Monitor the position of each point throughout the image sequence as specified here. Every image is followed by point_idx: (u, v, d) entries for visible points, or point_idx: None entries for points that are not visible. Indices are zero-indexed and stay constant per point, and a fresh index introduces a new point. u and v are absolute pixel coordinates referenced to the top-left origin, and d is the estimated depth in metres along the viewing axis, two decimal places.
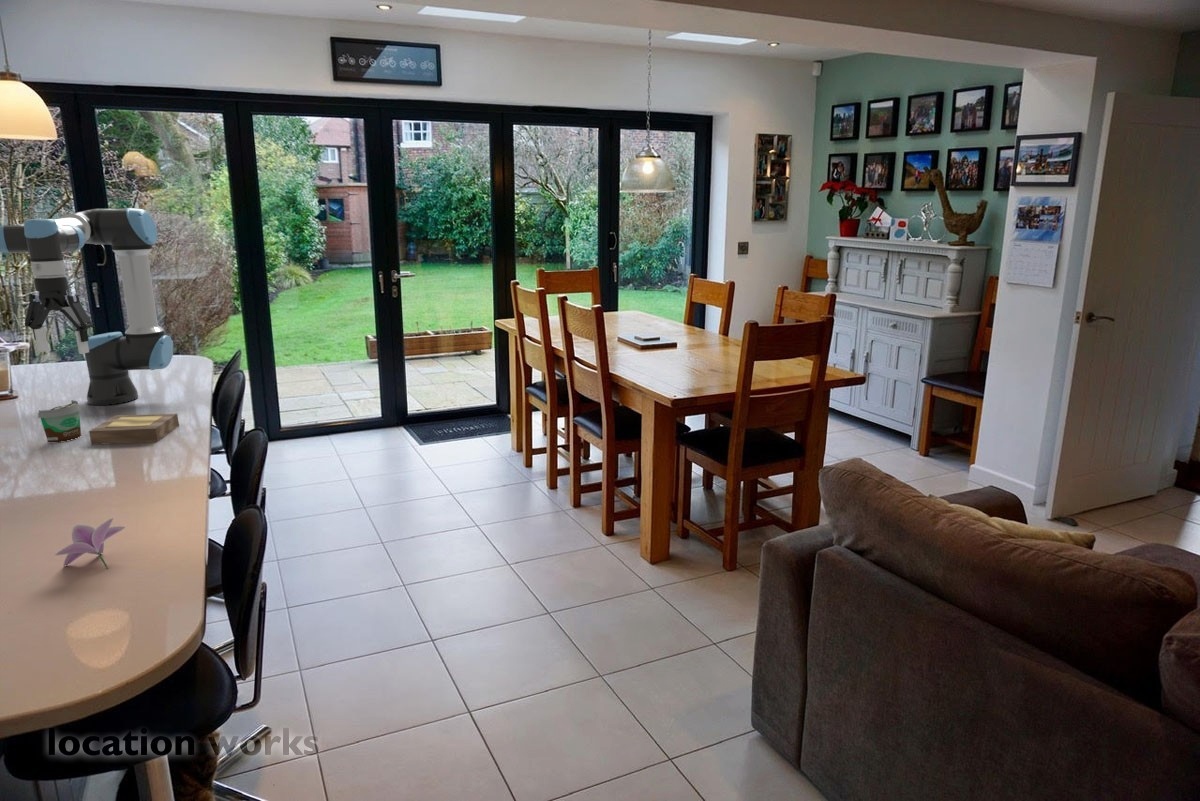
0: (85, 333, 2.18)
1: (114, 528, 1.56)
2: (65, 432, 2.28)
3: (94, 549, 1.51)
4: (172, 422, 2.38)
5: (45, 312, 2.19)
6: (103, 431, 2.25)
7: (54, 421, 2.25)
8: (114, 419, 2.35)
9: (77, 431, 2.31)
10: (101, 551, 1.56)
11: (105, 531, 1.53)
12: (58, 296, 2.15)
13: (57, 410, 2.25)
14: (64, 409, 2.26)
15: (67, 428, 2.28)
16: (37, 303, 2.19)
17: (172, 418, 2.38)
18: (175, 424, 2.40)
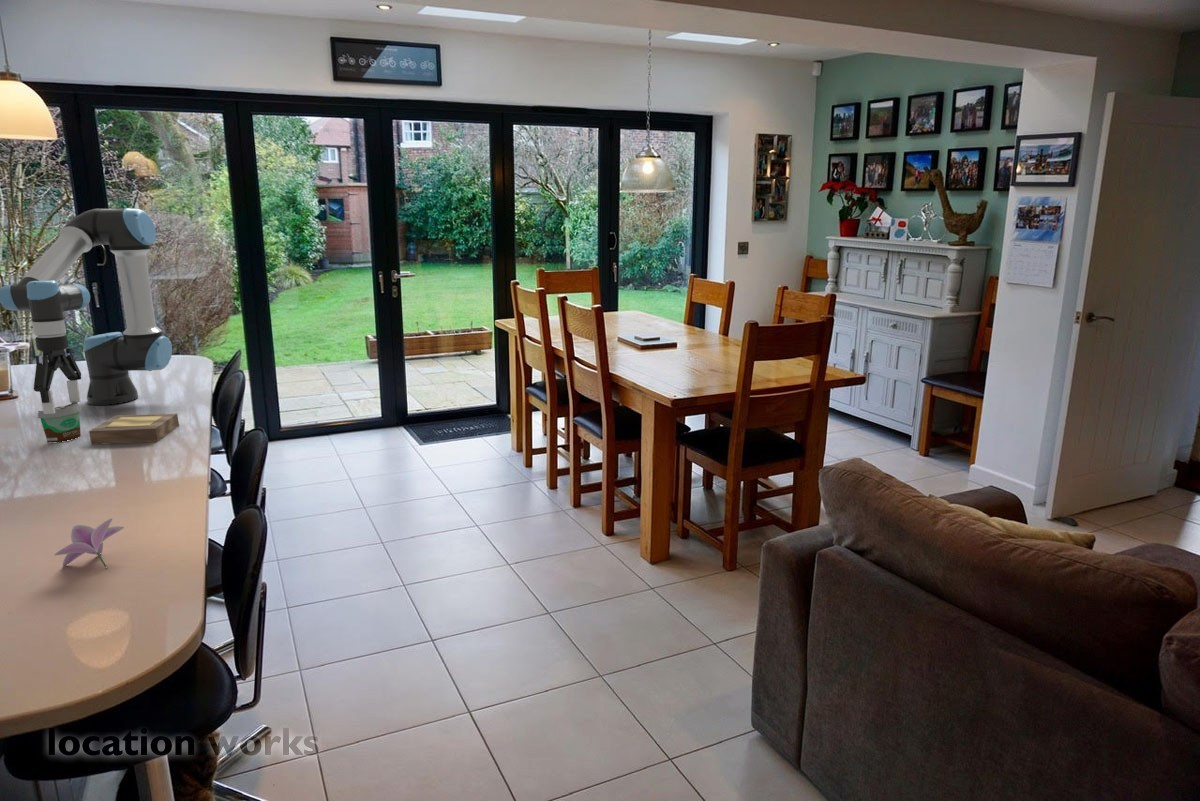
0: (43, 395, 2.18)
1: (113, 528, 1.56)
2: (65, 432, 2.27)
3: (93, 549, 1.51)
4: (172, 422, 2.38)
5: (62, 367, 2.29)
6: (103, 431, 2.25)
7: (54, 422, 2.25)
8: (114, 419, 2.35)
9: (77, 432, 2.31)
10: (100, 551, 1.56)
11: (104, 531, 1.53)
12: None
13: (57, 410, 2.25)
14: (64, 409, 2.26)
15: (66, 428, 2.28)
16: (66, 357, 2.30)
17: (172, 418, 2.38)
18: (175, 424, 2.40)
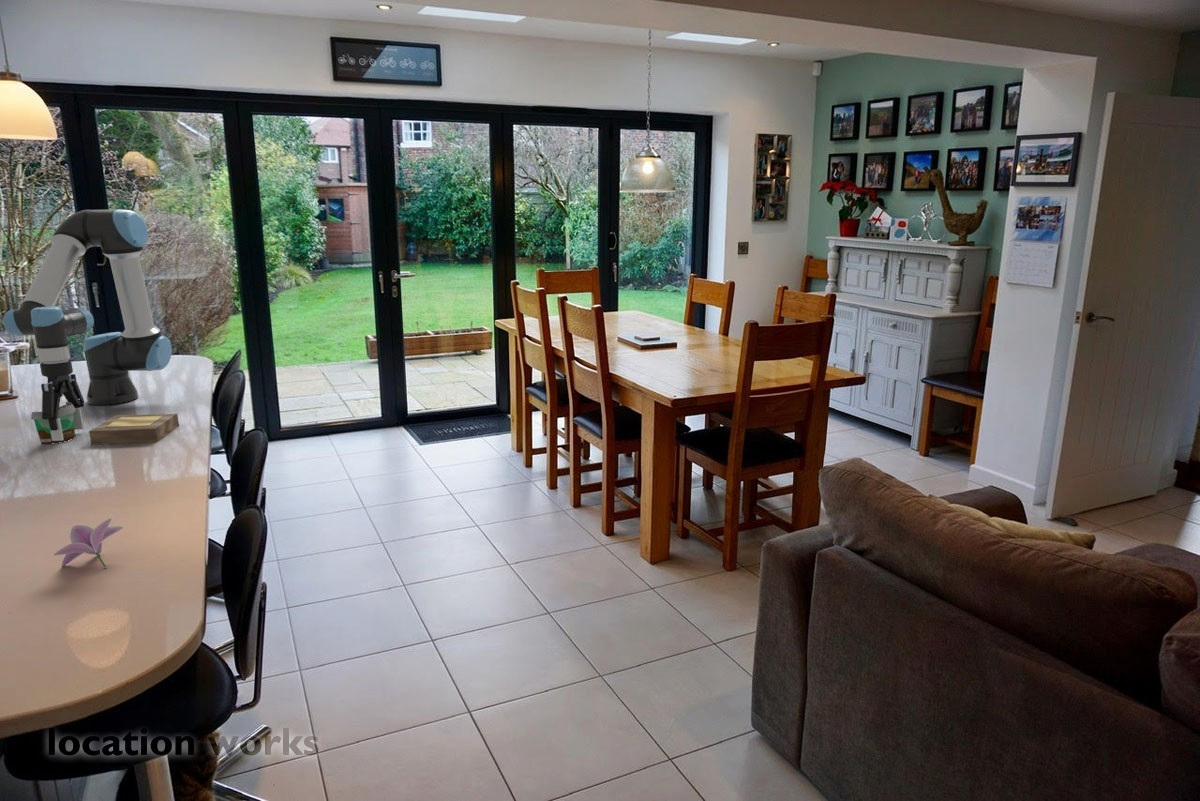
0: (51, 422, 2.22)
1: (112, 528, 1.56)
2: None
3: (92, 549, 1.51)
4: (172, 422, 2.38)
5: (66, 393, 2.30)
6: (103, 431, 2.25)
7: (47, 423, 2.24)
8: (114, 419, 2.35)
9: (71, 433, 2.29)
10: (99, 551, 1.56)
11: (103, 531, 1.53)
12: None
13: None
14: None
15: None
16: (71, 383, 2.32)
17: (172, 418, 2.38)
18: (175, 424, 2.40)
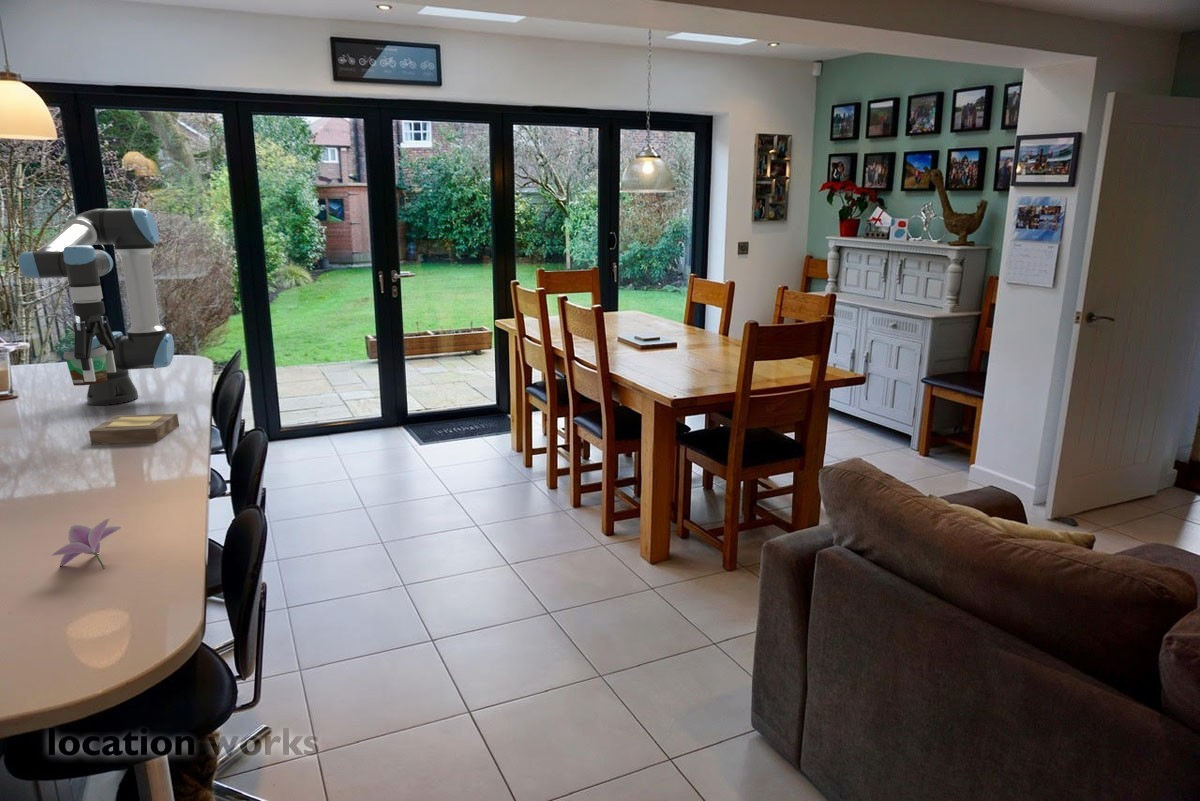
0: (84, 362, 2.19)
1: (110, 528, 1.56)
2: None
3: (91, 549, 1.51)
4: (172, 422, 2.38)
5: (98, 335, 2.28)
6: (103, 431, 2.25)
7: (79, 363, 2.21)
8: (114, 419, 2.35)
9: (103, 375, 2.27)
10: (97, 551, 1.56)
11: (101, 531, 1.53)
12: None
13: None
14: None
15: None
16: (103, 325, 2.30)
17: (172, 418, 2.38)
18: (175, 424, 2.40)
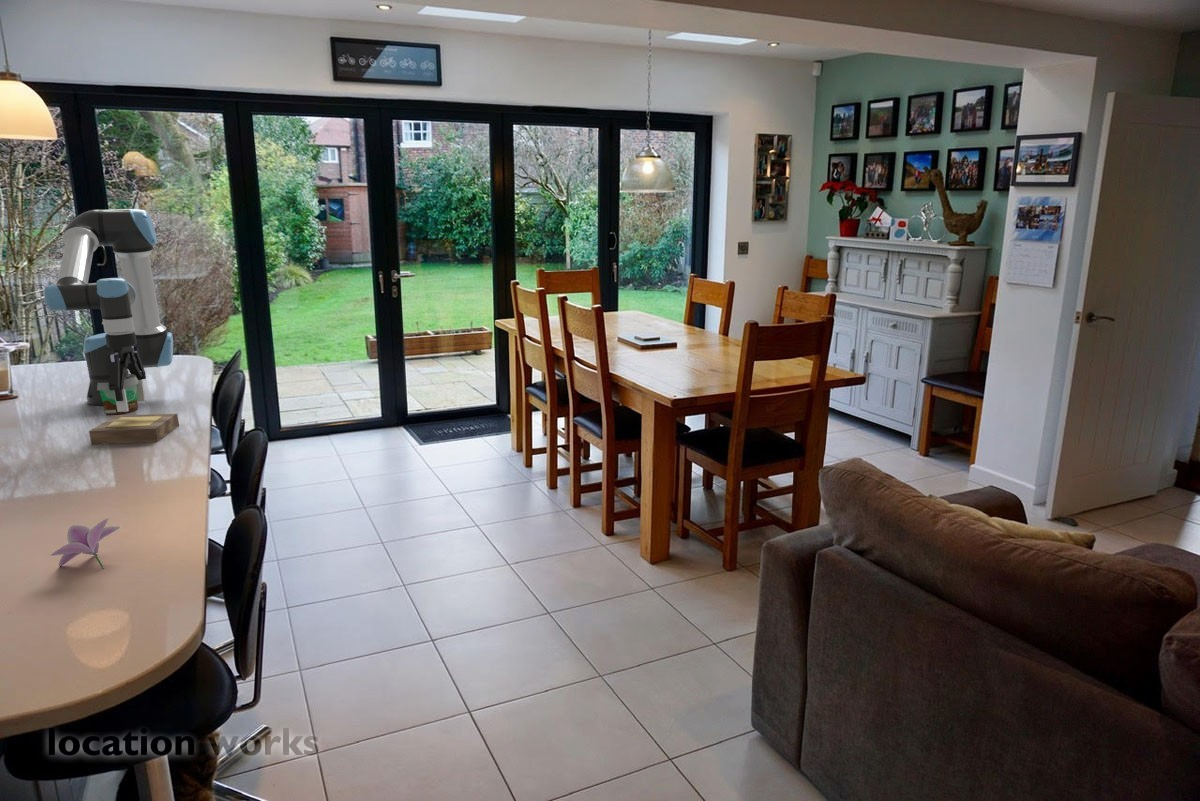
0: (117, 393, 2.23)
1: (109, 528, 1.56)
2: None
3: (89, 549, 1.51)
4: (172, 422, 2.38)
5: (129, 365, 2.31)
6: (103, 431, 2.25)
7: (113, 394, 2.25)
8: (114, 419, 2.35)
9: (134, 404, 2.31)
10: (96, 551, 1.56)
11: (100, 531, 1.53)
12: None
13: None
14: None
15: None
16: (133, 355, 2.34)
17: (172, 418, 2.38)
18: (175, 424, 2.40)
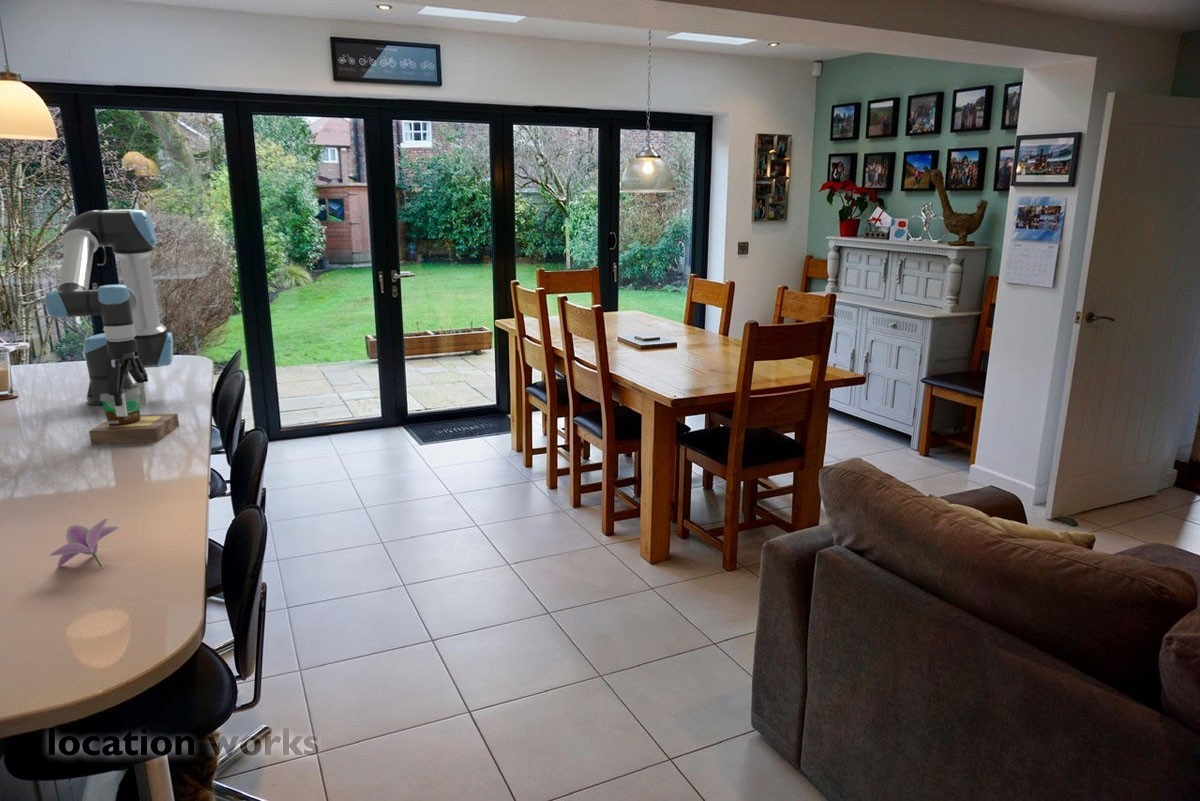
0: (116, 398, 2.23)
1: (108, 528, 1.56)
2: None
3: (88, 549, 1.51)
4: (172, 422, 2.38)
5: (131, 370, 2.32)
6: (103, 431, 2.25)
7: None
8: None
9: (137, 415, 2.32)
10: (94, 551, 1.56)
11: (99, 532, 1.53)
12: None
13: None
14: (125, 392, 2.27)
15: (127, 411, 2.29)
16: (134, 360, 2.34)
17: (172, 418, 2.38)
18: (175, 424, 2.40)
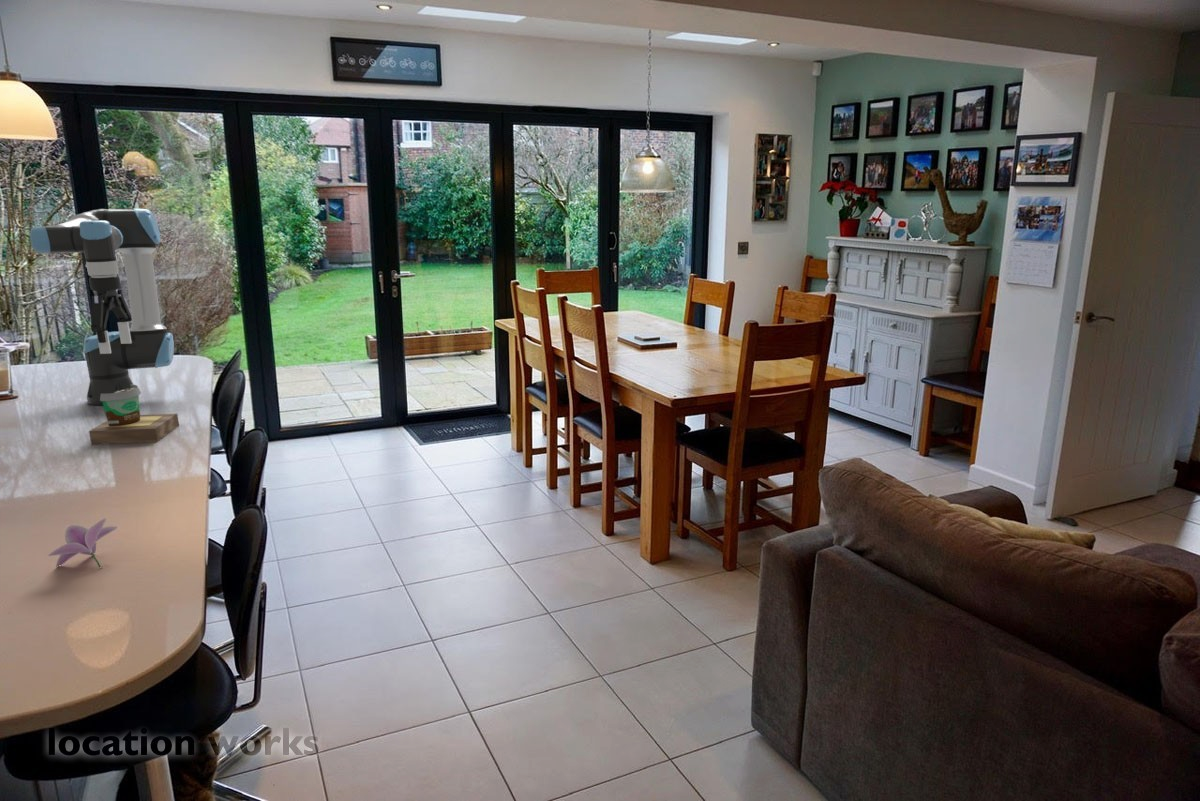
0: (100, 335, 2.21)
1: (107, 528, 1.56)
2: (126, 415, 2.29)
3: (87, 549, 1.51)
4: (172, 422, 2.38)
5: (114, 308, 2.31)
6: (103, 431, 2.25)
7: (115, 405, 2.26)
8: None
9: (137, 415, 2.32)
10: (93, 551, 1.56)
11: (97, 532, 1.53)
12: None
13: (119, 393, 2.26)
14: (125, 392, 2.27)
15: (127, 411, 2.29)
16: (118, 298, 2.33)
17: (172, 418, 2.38)
18: (175, 424, 2.40)
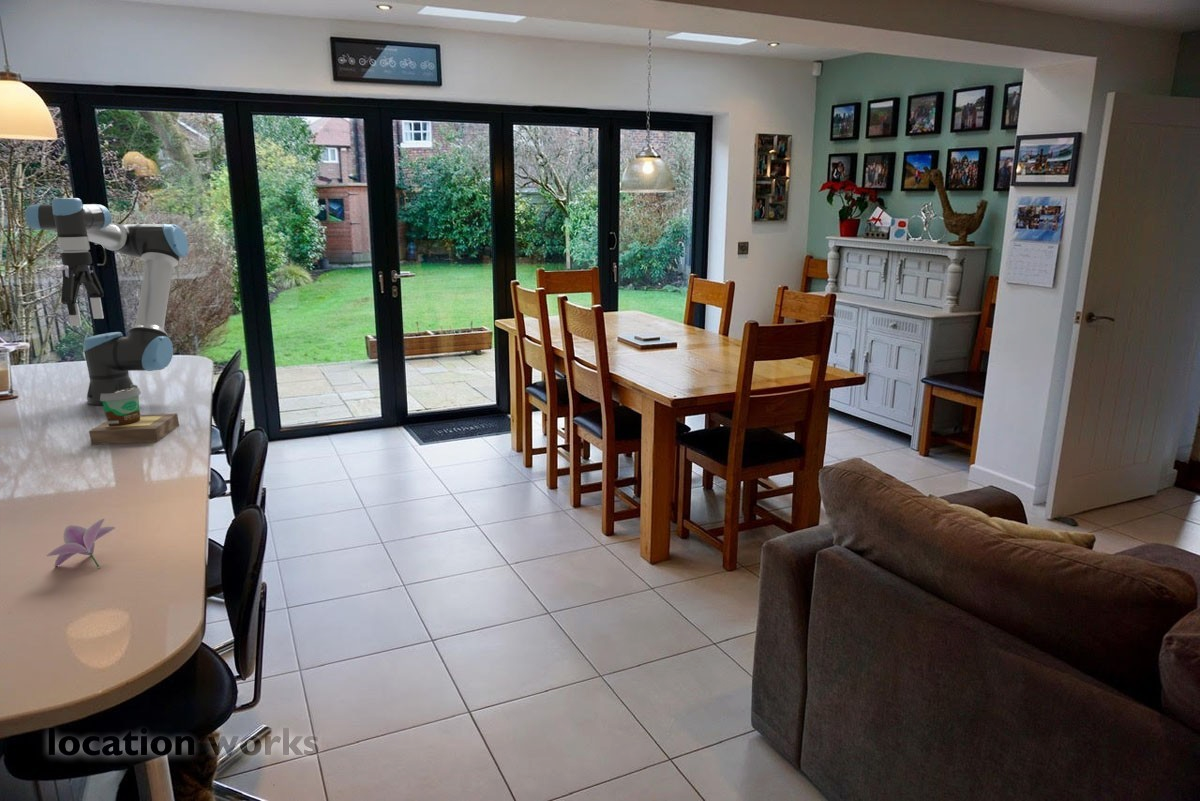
0: (70, 307, 2.30)
1: (105, 528, 1.56)
2: (126, 415, 2.29)
3: (86, 549, 1.51)
4: (172, 422, 2.38)
5: (86, 283, 2.40)
6: (103, 431, 2.25)
7: (115, 405, 2.26)
8: None
9: (137, 415, 2.32)
10: (91, 552, 1.56)
11: (96, 532, 1.53)
12: None
13: (119, 393, 2.26)
14: (125, 392, 2.27)
15: (127, 411, 2.29)
16: (90, 274, 2.41)
17: (172, 418, 2.38)
18: (175, 424, 2.40)
